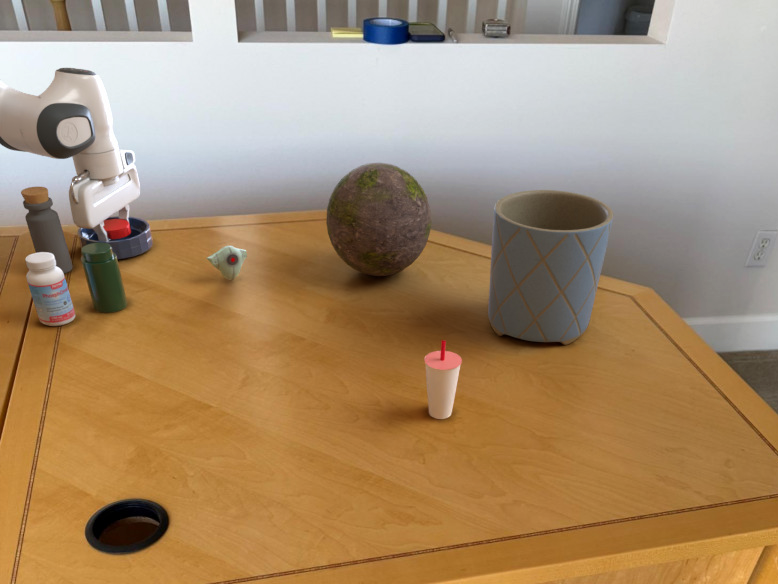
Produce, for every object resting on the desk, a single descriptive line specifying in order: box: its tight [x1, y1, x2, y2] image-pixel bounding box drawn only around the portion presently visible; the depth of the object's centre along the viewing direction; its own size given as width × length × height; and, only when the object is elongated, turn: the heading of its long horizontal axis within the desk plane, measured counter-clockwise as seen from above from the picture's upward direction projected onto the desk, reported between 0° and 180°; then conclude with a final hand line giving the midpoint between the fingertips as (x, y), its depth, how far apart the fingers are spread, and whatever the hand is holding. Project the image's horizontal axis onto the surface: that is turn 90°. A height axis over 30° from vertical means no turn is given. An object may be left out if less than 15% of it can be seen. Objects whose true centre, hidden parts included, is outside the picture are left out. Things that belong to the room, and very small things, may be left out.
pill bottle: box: [24, 252, 76, 327], centre depth 133 cm, size 6×6×11 cm
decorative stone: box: [325, 162, 432, 277], centre depth 147 cm, size 20×20×20 cm
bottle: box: [20, 186, 74, 274], centre depth 147 cm, size 6×6×15 cm
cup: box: [424, 339, 463, 420], centre depth 112 cm, size 5×5×12 cm
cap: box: [103, 219, 131, 239], centre depth 158 cm, size 6×6×2 cm
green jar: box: [80, 243, 129, 314], centre depth 138 cm, size 6×6×11 cm
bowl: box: [76, 215, 154, 260], centre depth 159 cm, size 14×14×4 cm
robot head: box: [206, 245, 248, 280], centre depth 148 cm, size 8×4×7 cm, turn 121°
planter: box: [487, 189, 614, 346], centre depth 131 cm, size 19×19×20 cm
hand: (115, 234), depth 159 cm, fingers closed on cap, 6 cm apart
